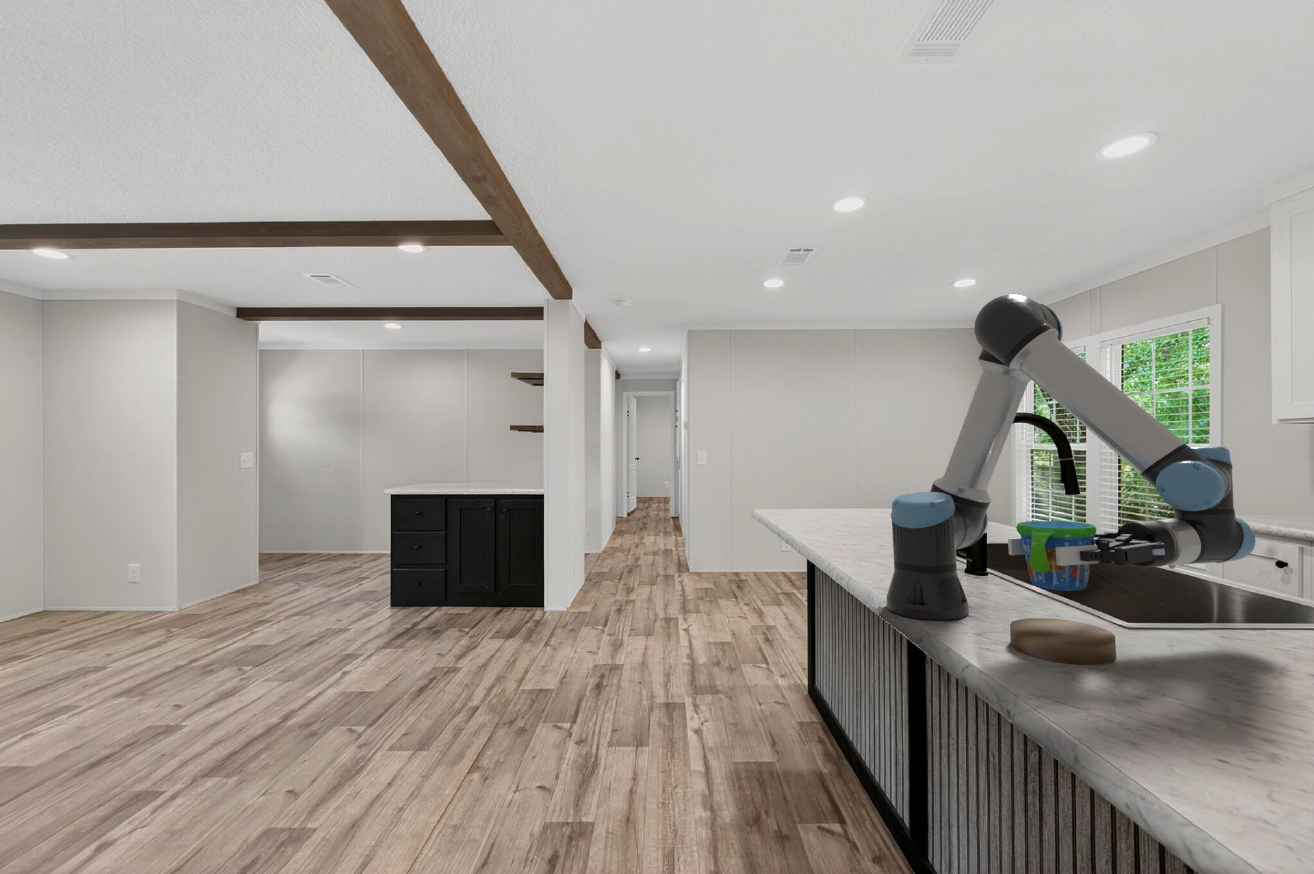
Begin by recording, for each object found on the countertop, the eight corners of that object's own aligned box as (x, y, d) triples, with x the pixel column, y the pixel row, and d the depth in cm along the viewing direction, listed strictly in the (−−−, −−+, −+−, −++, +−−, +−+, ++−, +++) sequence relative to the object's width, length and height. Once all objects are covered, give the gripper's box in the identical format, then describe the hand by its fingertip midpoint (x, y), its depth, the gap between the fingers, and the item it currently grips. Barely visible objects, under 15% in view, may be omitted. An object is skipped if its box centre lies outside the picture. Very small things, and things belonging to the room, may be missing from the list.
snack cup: (1047, 575, 104) (1044, 517, 105) (1119, 585, 96) (1114, 521, 96) (999, 588, 96) (995, 525, 97) (1071, 601, 87) (1067, 531, 88)
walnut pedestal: (991, 638, 102) (990, 621, 102) (1064, 632, 104) (1064, 615, 104) (1057, 667, 88) (1056, 647, 88) (1140, 660, 90) (1139, 640, 90)
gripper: (1229, 579, 87) (1093, 589, 84) (1098, 555, 109) (987, 563, 106) (1225, 528, 88) (1090, 536, 85) (1095, 514, 109) (984, 521, 106)
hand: (1032, 551), depth 95 cm, fingers closed on snack cup, 9 cm apart
